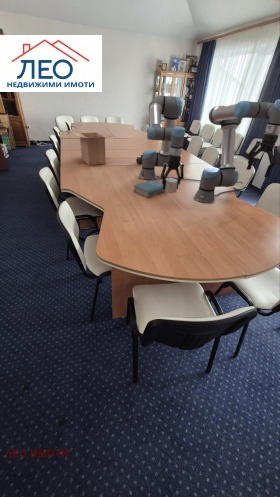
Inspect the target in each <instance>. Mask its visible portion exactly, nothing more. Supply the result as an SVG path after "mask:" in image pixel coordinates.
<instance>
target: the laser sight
mask: <svg viewBox="0 0 280 497" xmlns="http://www.w3.org/2000/svg"><path fill="white" fill-rule="evenodd" d="M142 157H143V154H140V156H137V157H136V159H135V162H136V164H139V165H142V160H143V158H142Z"/></svg>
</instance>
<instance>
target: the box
mask: <svg viewBox="0 0 280 497" xmlns="http://www.w3.org/2000/svg"><path fill="white" fill-rule="evenodd" d="M70 133H71V134H72V135H74V136H75V137H77V138H79V144H80V153H81V160H83V162H85V163H86V165H87V166H95V165H97V166H98V165H106V163H107V162H106V158H107V157H106V138H113V137H114V136H113V135H111V134H109V133H108V132H105V131H98V132H96V131H95V130H92V129H91V130H77V132H76V131H70Z"/></svg>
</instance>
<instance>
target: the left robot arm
mask: <svg viewBox="0 0 280 497" xmlns="http://www.w3.org/2000/svg"><path fill="white" fill-rule="evenodd" d="M182 112H183V98H182V97H179V96H175V95H174V96H173V95H172V96H171V95H157V96H156V97H154V98H153V99H152V100H151V101H150V103H149V105H148V114H149V126H148V127H147V132H146V134H147V135H146V138H147V140H151V141H161V147H160V149H159V150H158V152H157V150H156V149H147V150H144V151H143V152H142V155H143V157H142V158H143V160H142V164H141V169H140V172H139V178H140V179H142V180H146V181H150V180H156V178H160V180H162V182H161V183H162V184H163V189H164V190H165V186H166V180H165V179H166V178H175V179H177V180H178V184H177V190H179V185H181V181H182V180H185V181H196V182H200V181H201V179H192V178H191V179H190V178H185V177H184V176H185V175H184V168H185V164H184V163H181V160H182V153H183V146H184V141H185V137H186V128H185V127H183V126H176V122H177V120H179V117H180V116H182ZM162 115H163V116H162ZM162 117H163V119H164V124H163V125H162ZM155 167H159V168H162V170H161V173H160V176H158V175H157V174H156V169H155ZM179 170H180V171H179ZM172 171H175V173H176V176H177V177H173V176H170V177H169V174H170V173H171V172H172ZM237 183H240V184H242V185H243V182H242V181H237V182H236V184H237Z"/></svg>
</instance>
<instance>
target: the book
mask: <svg viewBox="0 0 280 497" xmlns="http://www.w3.org/2000/svg"><path fill="white" fill-rule="evenodd" d="M164 192H165V191H164V189H163V184H162V182H160V181H159V180H156V179H153V180H146V181H143V182H140V183H137V184H134V185H133V193H135V194H138V195H140V196H142V197H145V198H150V197H153V196H156V195H159V194H161V193H164Z"/></svg>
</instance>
